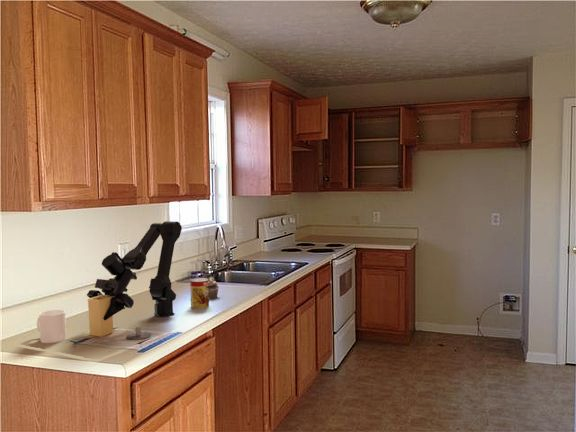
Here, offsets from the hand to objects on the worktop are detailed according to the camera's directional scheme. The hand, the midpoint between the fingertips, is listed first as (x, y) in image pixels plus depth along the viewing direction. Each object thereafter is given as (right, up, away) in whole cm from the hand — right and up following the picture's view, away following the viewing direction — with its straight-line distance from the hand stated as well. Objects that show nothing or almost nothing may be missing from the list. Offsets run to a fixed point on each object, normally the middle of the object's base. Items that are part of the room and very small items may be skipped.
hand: (98, 318), depth 181 cm
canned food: (+29, -4, +44) cm, 53 cm away
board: (+8, -7, 0) cm, 10 cm away
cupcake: (+30, -3, +62) cm, 69 cm away
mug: (-16, -7, -3) cm, 18 cm away
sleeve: (+1, -6, +2) cm, 6 cm away
